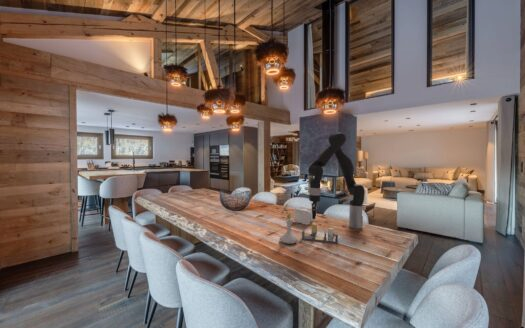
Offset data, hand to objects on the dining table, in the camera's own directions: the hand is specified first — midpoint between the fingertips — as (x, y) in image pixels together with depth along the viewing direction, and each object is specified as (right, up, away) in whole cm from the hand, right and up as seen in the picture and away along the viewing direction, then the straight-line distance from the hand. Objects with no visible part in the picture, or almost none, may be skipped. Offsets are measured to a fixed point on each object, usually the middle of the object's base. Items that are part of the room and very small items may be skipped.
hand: (314, 217), depth 160 cm
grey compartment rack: (+1, -12, -11) cm, 17 cm away
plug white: (+8, -11, -13) cm, 19 cm away
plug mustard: (0, -12, 0) cm, 12 cm away
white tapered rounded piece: (-20, -13, -16) cm, 28 cm away
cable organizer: (-2, -11, +27) cm, 29 cm away
